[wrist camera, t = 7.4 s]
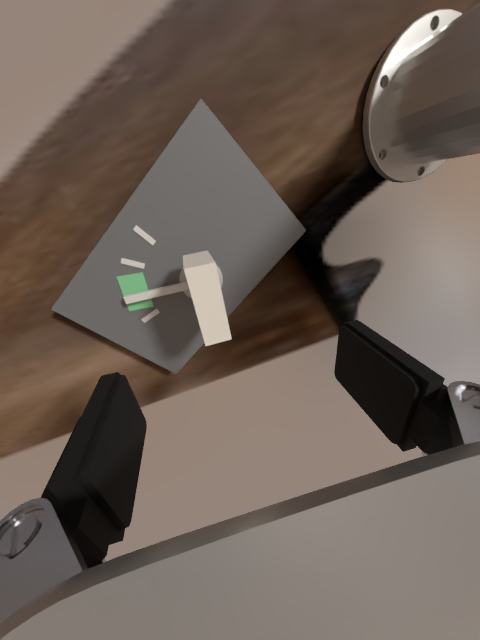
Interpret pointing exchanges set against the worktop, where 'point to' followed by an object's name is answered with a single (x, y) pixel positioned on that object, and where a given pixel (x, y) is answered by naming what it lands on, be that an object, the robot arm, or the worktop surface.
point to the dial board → (181, 244)
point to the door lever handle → (198, 296)
